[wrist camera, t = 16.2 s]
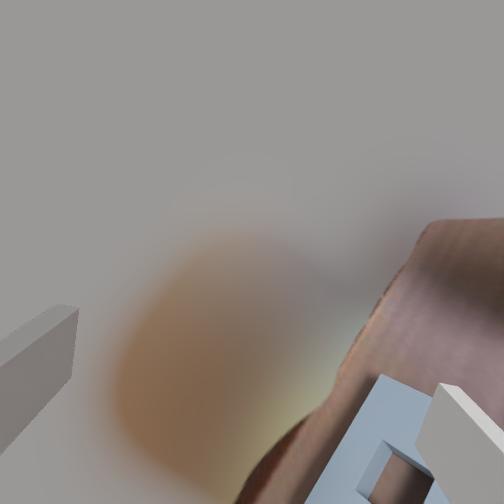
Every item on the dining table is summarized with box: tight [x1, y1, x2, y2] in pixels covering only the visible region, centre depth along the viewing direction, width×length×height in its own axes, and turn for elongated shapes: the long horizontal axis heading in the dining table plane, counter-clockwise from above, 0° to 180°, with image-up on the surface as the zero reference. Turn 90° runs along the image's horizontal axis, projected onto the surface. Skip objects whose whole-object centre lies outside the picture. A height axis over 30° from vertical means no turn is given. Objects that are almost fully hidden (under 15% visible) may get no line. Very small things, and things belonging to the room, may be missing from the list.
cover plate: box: [304, 374, 504, 504], centre depth 34 cm, size 20×14×4 cm
